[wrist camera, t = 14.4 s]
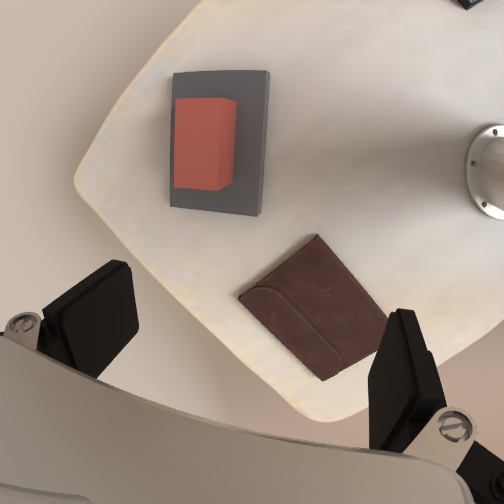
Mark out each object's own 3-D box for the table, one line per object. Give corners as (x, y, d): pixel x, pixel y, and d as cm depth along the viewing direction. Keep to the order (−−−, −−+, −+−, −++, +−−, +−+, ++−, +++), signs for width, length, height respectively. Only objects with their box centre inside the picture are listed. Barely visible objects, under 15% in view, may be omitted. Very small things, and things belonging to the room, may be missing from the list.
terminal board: (269, 73, 34) (258, 64, 28) (260, 212, 41) (249, 226, 35) (180, 75, 36) (157, 69, 31) (176, 203, 43) (155, 214, 38)
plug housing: (236, 101, 34) (221, 97, 29) (232, 182, 38) (217, 190, 33) (196, 101, 35) (175, 98, 30) (193, 179, 39) (174, 187, 34)
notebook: (317, 232, 41) (317, 237, 39) (398, 330, 43) (400, 338, 41) (240, 294, 47) (236, 301, 45) (322, 374, 49) (321, 383, 47)
